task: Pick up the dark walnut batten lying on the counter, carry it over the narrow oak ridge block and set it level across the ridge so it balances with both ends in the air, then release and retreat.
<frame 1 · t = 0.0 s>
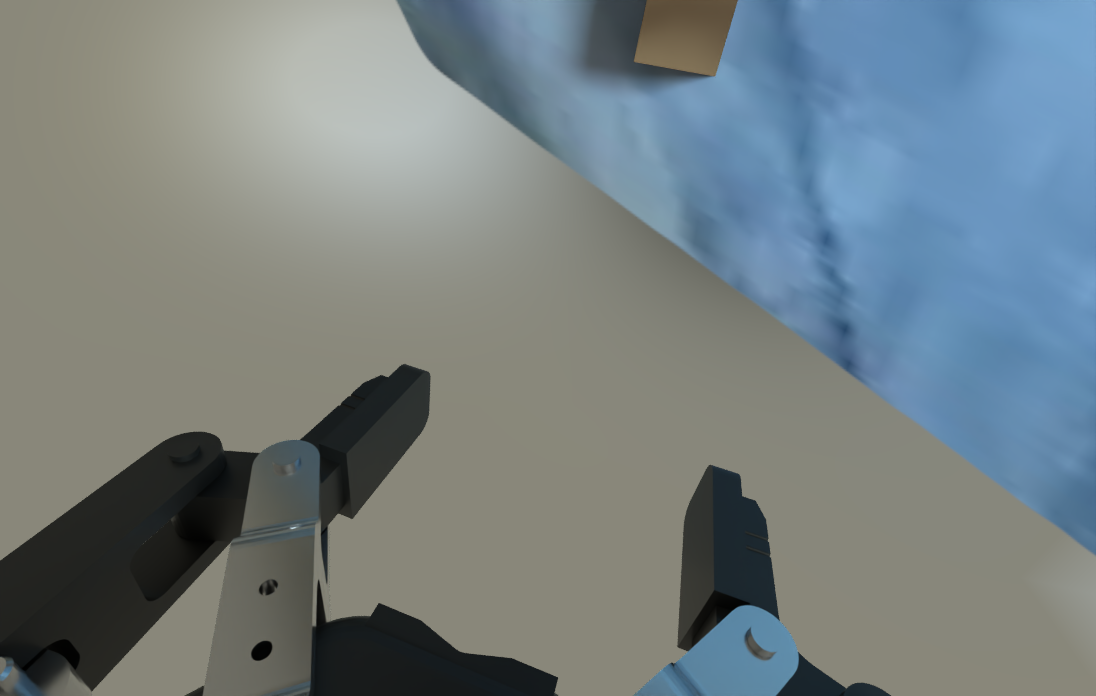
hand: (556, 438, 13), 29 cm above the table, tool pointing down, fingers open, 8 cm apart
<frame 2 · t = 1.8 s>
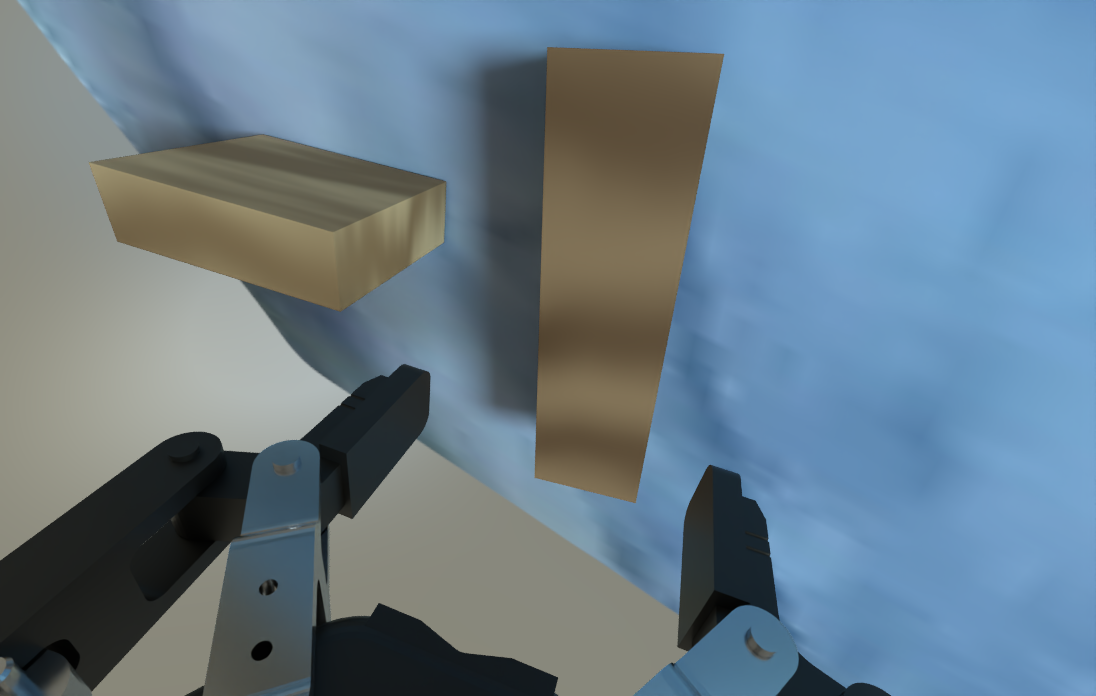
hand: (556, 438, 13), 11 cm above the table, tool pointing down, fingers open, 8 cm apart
fulcrum: (353, 188, 23), on the table
batten: (621, 278, 22), on the table
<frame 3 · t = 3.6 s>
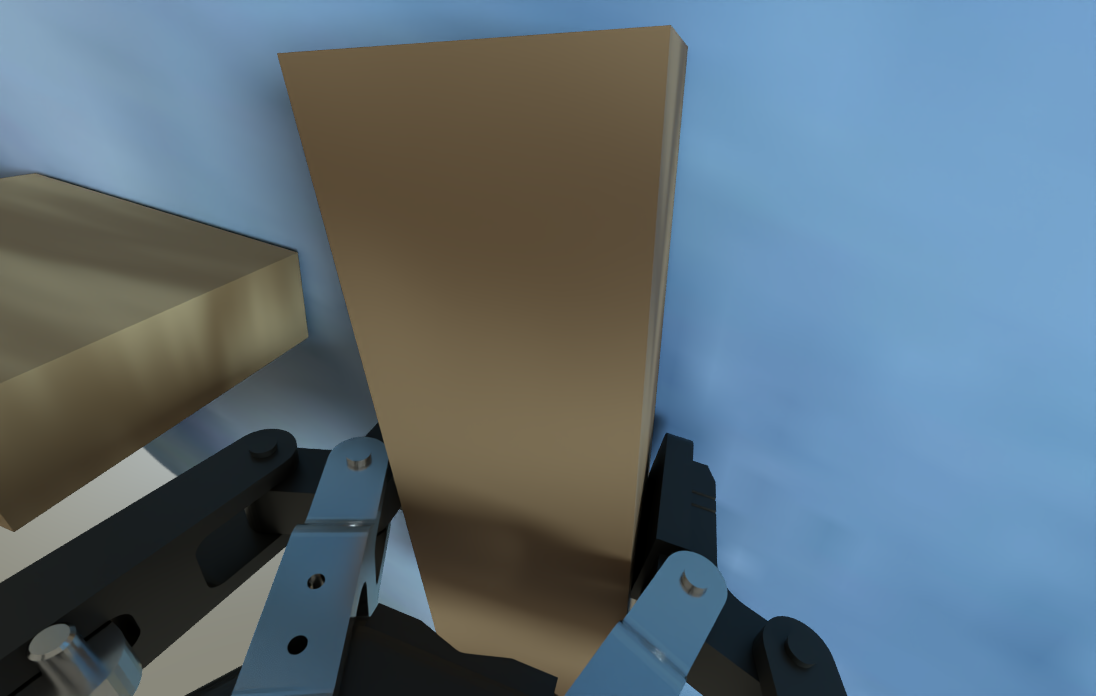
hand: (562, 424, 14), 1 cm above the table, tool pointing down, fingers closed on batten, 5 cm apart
fulcrum: (172, 255, 16), on the table
batten: (568, 408, 14), on the table, touching gripper
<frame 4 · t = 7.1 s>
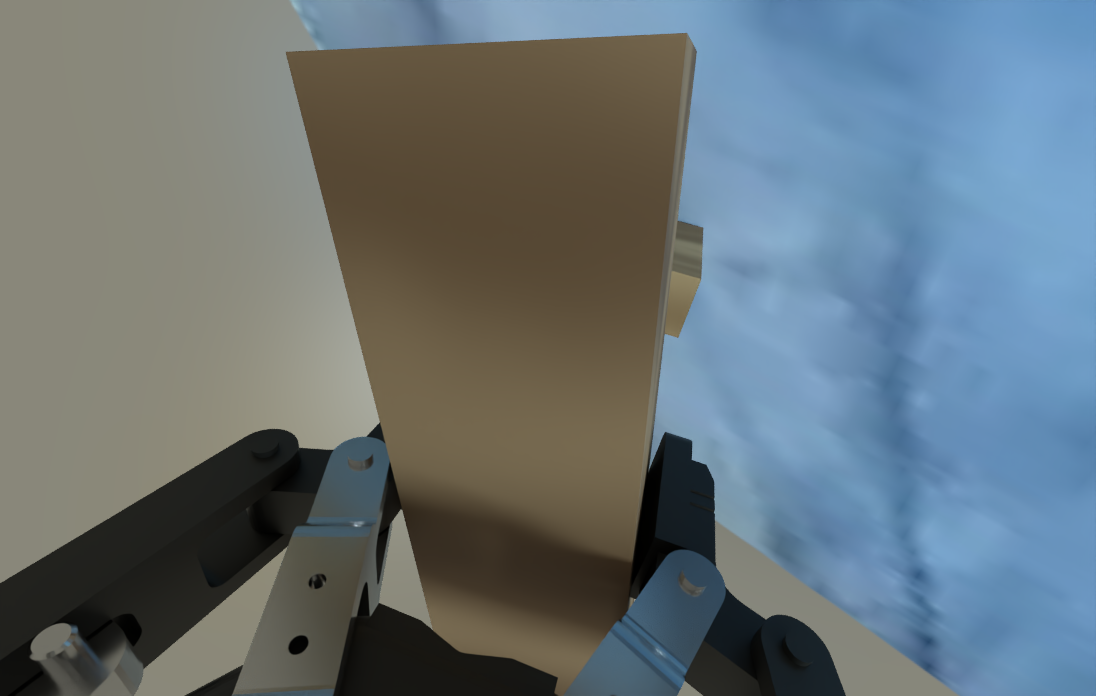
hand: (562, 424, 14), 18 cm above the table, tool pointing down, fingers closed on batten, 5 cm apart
fulcrum: (611, 229, 28), on the table
batten: (569, 410, 14), point 17 cm above the table, touching gripper
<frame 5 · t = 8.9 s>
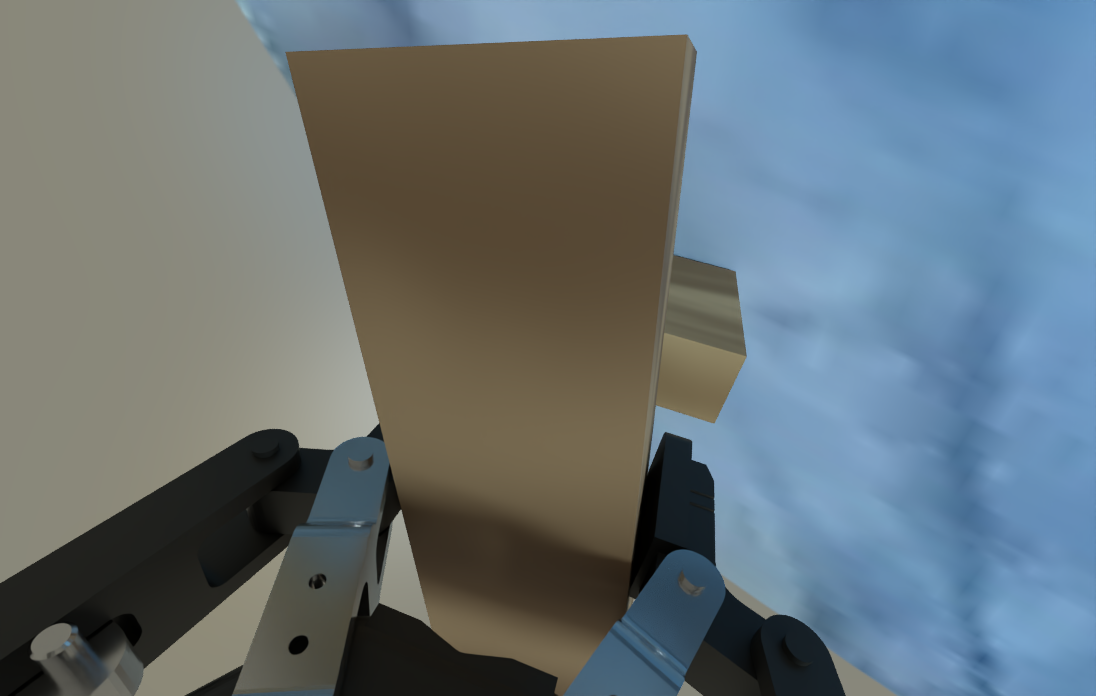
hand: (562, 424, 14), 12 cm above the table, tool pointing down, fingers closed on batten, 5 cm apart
fulcrum: (624, 272, 24), on the table
batten: (568, 410, 14), point 12 cm above the table, touching gripper
when the fingers open (9 cm above the table, at t = 10.5 s): batten stays where it is, resting on fulcrum.
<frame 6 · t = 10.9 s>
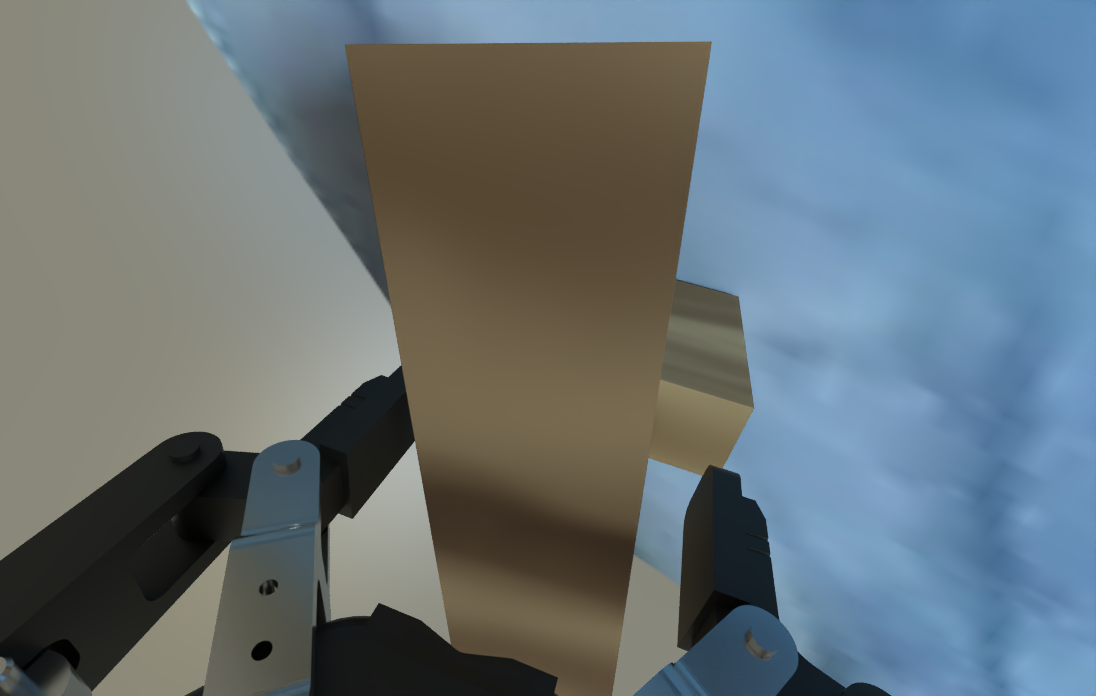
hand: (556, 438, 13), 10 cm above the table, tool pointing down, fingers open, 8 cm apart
fulcrum: (615, 296, 21), on the table
batten: (575, 393, 15), point 8 cm above the table, touching fulcrum
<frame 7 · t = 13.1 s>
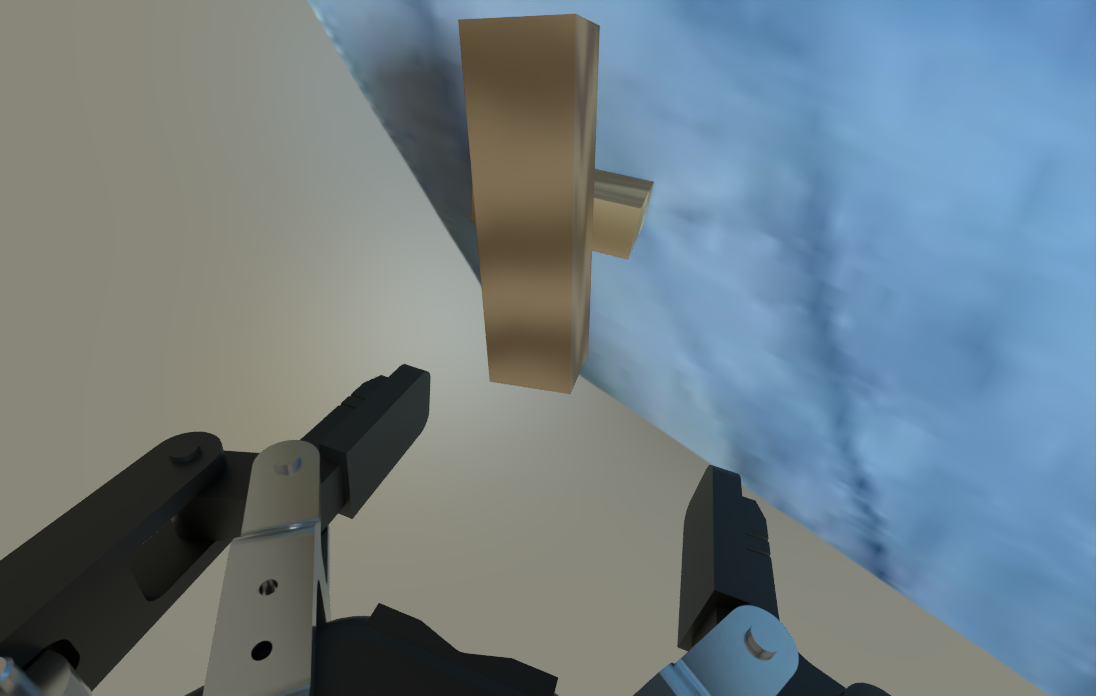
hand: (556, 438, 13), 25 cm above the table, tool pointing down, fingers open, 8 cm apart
fulcrum: (580, 188, 34), on the table
batten: (551, 213, 28), point 8 cm above the table, touching fulcrum
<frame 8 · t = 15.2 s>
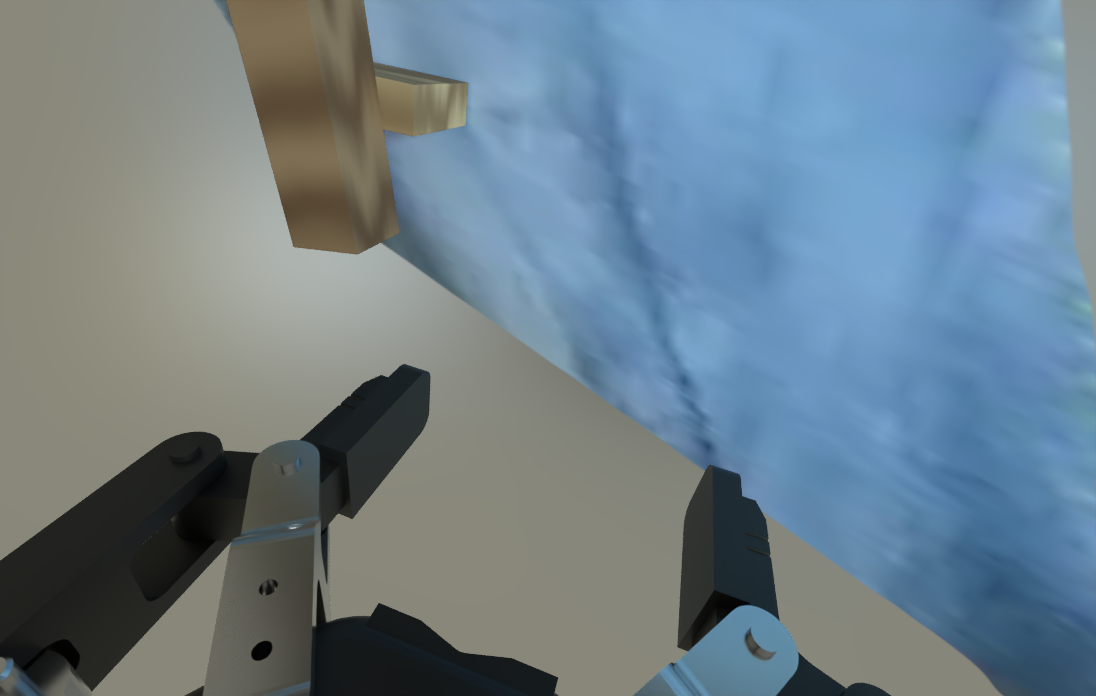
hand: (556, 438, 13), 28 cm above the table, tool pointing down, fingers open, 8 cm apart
fulcrum: (408, 91, 37), on the table
batten: (344, 93, 31), point 8 cm above the table, touching fulcrum
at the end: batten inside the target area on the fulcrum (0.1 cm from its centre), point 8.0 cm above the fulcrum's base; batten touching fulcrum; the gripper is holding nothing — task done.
